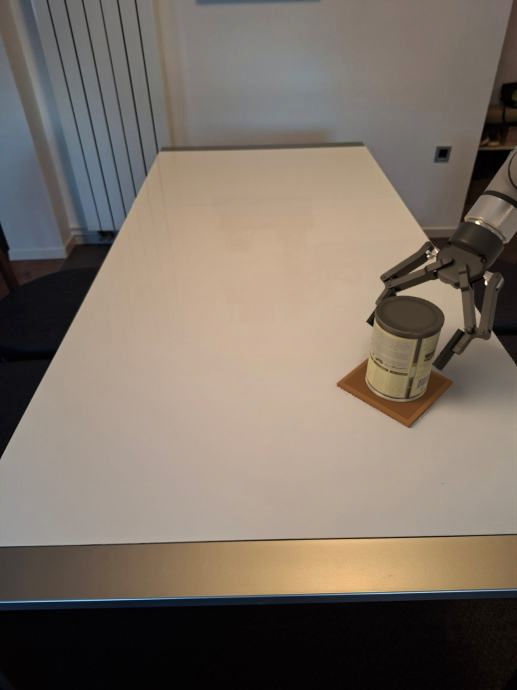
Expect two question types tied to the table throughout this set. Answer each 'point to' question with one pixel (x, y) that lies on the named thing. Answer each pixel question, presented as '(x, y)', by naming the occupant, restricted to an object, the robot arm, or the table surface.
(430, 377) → the cork mat
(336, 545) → the table surface
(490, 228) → the robot arm
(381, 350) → the coffee can
